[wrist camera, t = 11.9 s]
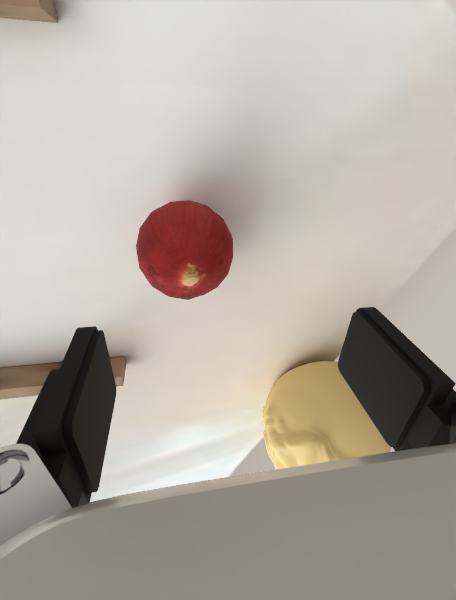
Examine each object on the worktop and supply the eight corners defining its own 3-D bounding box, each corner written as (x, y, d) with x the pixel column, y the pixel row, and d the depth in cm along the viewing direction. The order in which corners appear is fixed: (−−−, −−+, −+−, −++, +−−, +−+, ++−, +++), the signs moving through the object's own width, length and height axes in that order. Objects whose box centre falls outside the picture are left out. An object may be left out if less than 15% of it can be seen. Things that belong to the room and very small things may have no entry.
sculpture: (234, 378, 31) (263, 490, 22) (343, 328, 30) (421, 422, 21) (270, 433, 37) (305, 537, 28) (361, 393, 36) (428, 487, 27)
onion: (209, 274, 24) (227, 338, 17) (134, 258, 22) (121, 322, 15) (232, 202, 21) (265, 244, 14) (149, 177, 19) (142, 211, 13)
